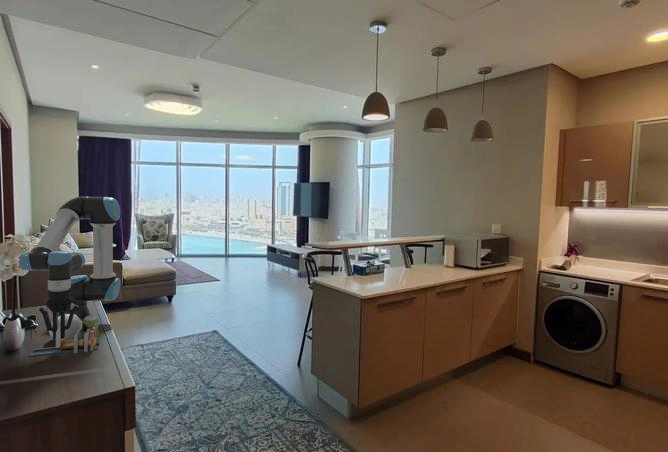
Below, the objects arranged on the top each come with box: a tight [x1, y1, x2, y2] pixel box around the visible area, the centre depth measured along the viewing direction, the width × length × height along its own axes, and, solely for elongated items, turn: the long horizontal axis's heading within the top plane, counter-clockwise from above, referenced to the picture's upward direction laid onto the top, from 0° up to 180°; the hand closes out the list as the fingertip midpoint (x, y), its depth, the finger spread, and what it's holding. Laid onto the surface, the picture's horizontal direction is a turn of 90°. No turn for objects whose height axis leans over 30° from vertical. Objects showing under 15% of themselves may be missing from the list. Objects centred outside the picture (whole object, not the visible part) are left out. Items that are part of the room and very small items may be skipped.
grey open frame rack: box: [27, 342, 101, 359], centre depth 154 cm, size 9×23×2 cm, turn 116°
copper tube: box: [60, 337, 97, 351], centre depth 156 cm, size 12×4×4 cm, turn 116°
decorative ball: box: [48, 314, 83, 341], centre depth 166 cm, size 12×12×12 cm
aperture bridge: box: [90, 327, 96, 352], centre depth 158 cm, size 8×1×8 cm, turn 26°
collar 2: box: [83, 328, 91, 353], centre depth 157 cm, size 9×1×7 cm, turn 26°
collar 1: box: [73, 329, 82, 354], centre depth 155 cm, size 9×1×7 cm, turn 26°
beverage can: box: [81, 314, 100, 342], centre depth 165 cm, size 6×7×12 cm
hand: (58, 346), depth 153 cm, fingers closed
